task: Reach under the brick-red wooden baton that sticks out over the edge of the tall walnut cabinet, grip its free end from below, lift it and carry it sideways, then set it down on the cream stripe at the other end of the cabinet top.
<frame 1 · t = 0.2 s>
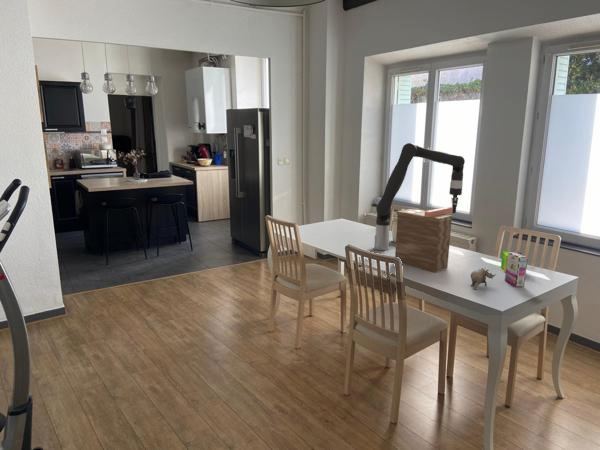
hand: (453, 212, 285), 29 cm above the table, tool pointing down, fingers open, 8 cm apart
rhino figurine: (479, 286, 233), on the table
baton: (438, 214, 260), point 32 cm above the table, touching cabinet
jug: (401, 241, 326), on the table
puzzle toy: (511, 270, 261), on the table
candy bar box: (514, 284, 237), on the table
cabinet: (420, 264, 269), on the table
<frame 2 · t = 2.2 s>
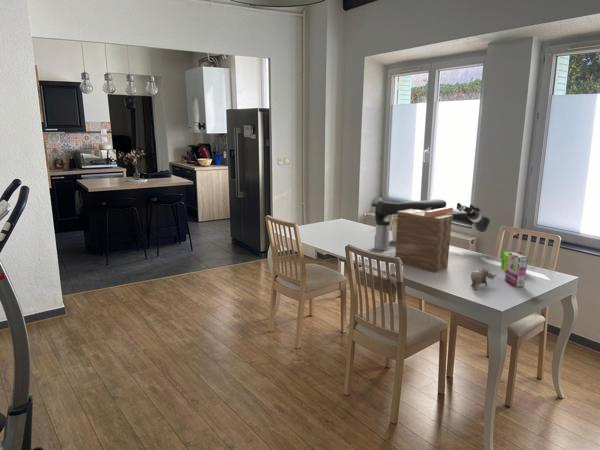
hand: (464, 204, 279), 35 cm above the table, tool pointing upward, fingers open, 8 cm apart
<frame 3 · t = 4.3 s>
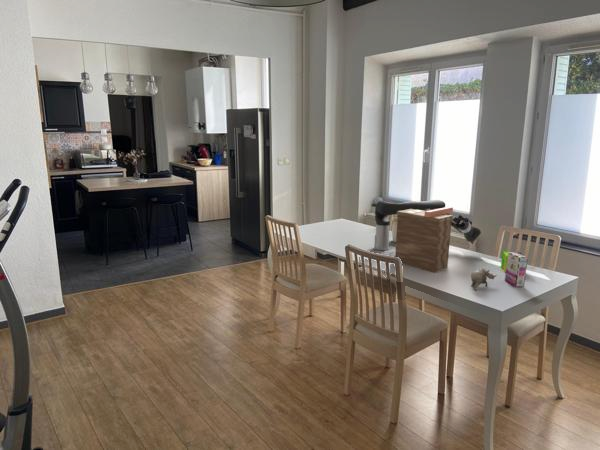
hand: (452, 215, 272), 30 cm above the table, tool pointing upward, fingers open, 8 cm apart
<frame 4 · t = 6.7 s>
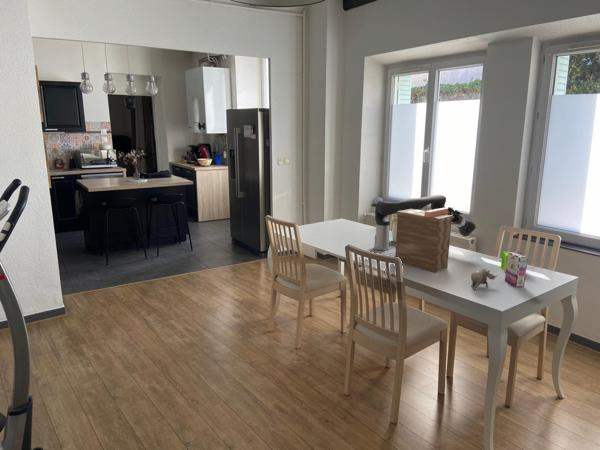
hand: (446, 208, 265), 35 cm above the table, tool pointing upward, fingers closed on baton, 3 cm apart
baton: (438, 214, 260), point 32 cm above the table, touching cabinet, gripper
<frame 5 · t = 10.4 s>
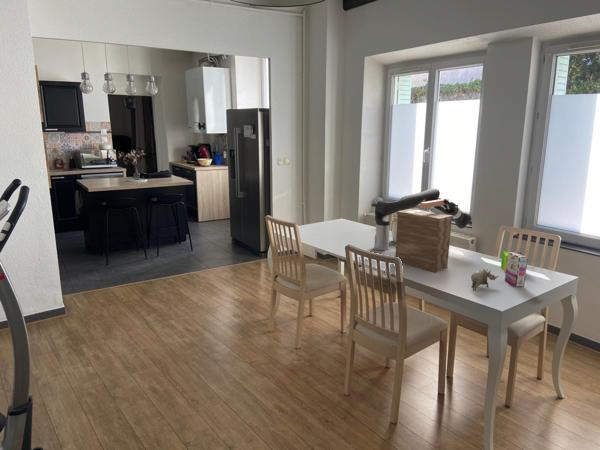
hand: (441, 199, 271), 39 cm above the table, tool pointing upward, fingers closed on baton, 3 cm apart
baton: (434, 205, 267), point 36 cm above the table, touching gripper
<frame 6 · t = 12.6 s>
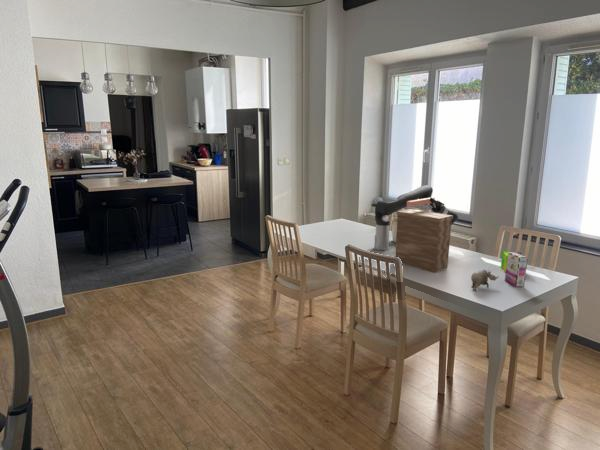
hand: (428, 198, 276), 39 cm above the table, tool pointing upward, fingers closed on baton, 3 cm apart
baton: (420, 204, 271), point 36 cm above the table, touching gripper
when the fingers open (36 cm above the table, at t = 14.2 s): baton stays where it is, resting on cabinet.
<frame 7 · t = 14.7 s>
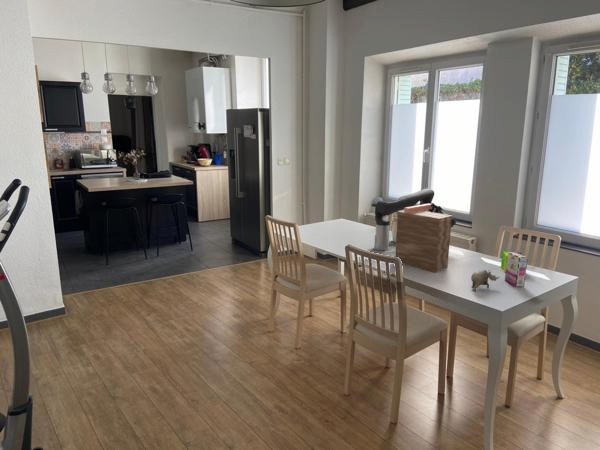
hand: (426, 203, 275), 36 cm above the table, tool pointing upward, fingers open, 7 cm apart
baton: (418, 210, 271), point 32 cm above the table, touching cabinet
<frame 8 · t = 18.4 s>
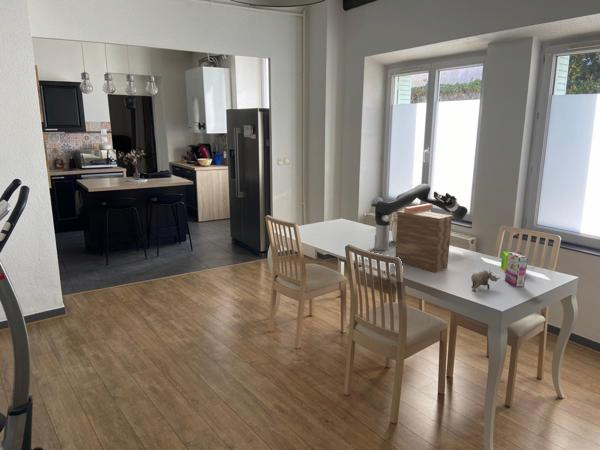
hand: (440, 193, 284), 41 cm above the table, tool pointing upward, fingers open, 8 cm apart
at the end: baton inside the target area on the cabinet (0.0 cm from its centre), point 32.2 cm above the cabinet's base; the gripper is holding nothing; baton tilted 0° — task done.
